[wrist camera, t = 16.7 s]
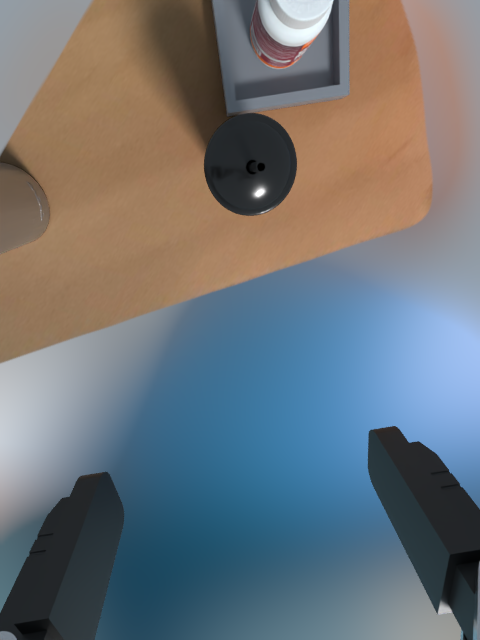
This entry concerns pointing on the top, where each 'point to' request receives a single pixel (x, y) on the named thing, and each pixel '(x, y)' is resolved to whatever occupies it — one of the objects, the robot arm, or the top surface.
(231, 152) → the drinking cup
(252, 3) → the tray
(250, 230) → the top surface
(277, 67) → the pill bottle
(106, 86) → the top surface
